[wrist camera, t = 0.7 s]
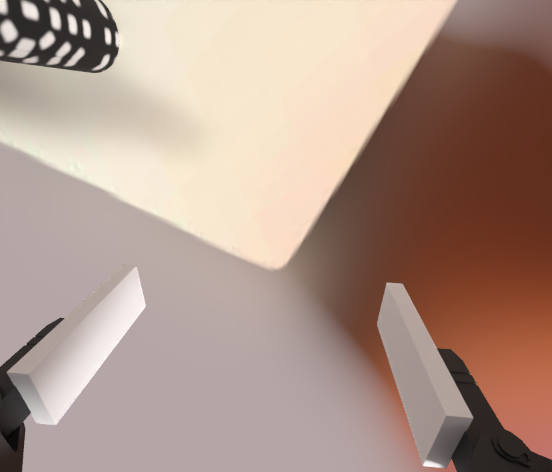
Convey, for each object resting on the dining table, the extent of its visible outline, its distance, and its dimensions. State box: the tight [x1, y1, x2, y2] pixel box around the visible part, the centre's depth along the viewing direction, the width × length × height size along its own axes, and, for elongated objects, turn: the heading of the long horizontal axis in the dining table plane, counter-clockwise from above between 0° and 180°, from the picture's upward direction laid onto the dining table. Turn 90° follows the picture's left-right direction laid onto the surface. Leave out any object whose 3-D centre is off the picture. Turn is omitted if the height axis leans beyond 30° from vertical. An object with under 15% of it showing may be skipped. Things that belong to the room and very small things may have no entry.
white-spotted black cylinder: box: [0, 0, 119, 73], centre depth 25 cm, size 8×8×20 cm
